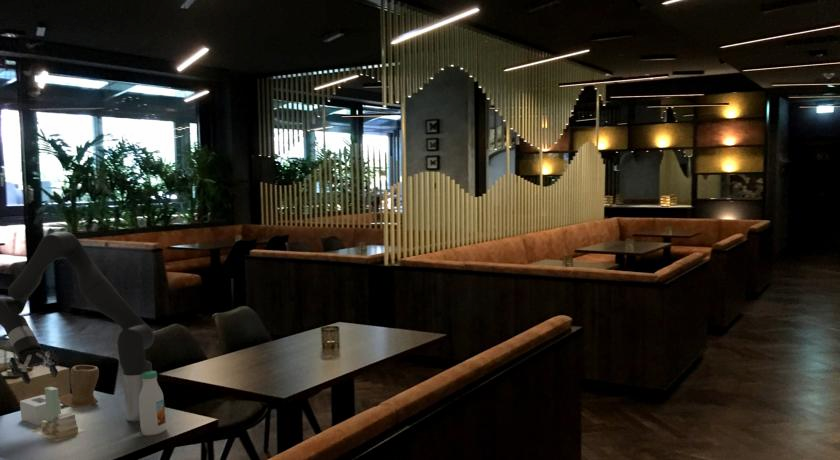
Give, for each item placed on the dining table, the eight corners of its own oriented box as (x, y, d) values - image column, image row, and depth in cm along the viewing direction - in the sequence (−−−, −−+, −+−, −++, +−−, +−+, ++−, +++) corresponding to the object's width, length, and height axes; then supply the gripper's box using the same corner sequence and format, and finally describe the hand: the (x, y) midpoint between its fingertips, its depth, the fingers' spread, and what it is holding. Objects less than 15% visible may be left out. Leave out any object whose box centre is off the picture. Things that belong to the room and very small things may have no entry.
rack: (30, 435, 222) (29, 422, 221) (60, 425, 230) (59, 412, 229) (56, 445, 211) (55, 431, 211) (87, 435, 219) (86, 422, 219)
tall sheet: (48, 429, 222) (44, 388, 221) (54, 427, 224) (50, 386, 223) (55, 431, 219) (51, 390, 219) (61, 429, 221) (58, 388, 220)
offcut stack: (51, 434, 217) (50, 416, 217) (69, 428, 222) (67, 411, 221) (60, 437, 214) (59, 419, 213) (78, 432, 218) (76, 414, 218)
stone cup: (107, 403, 253) (104, 364, 252) (76, 412, 243) (72, 372, 242) (86, 397, 261) (83, 359, 260) (55, 406, 252) (52, 367, 251)
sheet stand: (21, 423, 234) (19, 400, 233) (45, 416, 240) (43, 394, 240) (37, 429, 227) (35, 406, 226) (61, 422, 233) (59, 399, 233)
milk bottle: (150, 437, 214) (146, 376, 213) (136, 433, 219) (131, 374, 217) (171, 429, 221) (166, 370, 220) (156, 426, 225) (152, 368, 224)
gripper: (4, 339, 223) (22, 378, 217) (48, 331, 234) (67, 367, 228) (-2, 353, 226) (16, 391, 220) (42, 344, 238) (60, 380, 232)
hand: (42, 379), depth 224 cm, fingers open, 8 cm apart
